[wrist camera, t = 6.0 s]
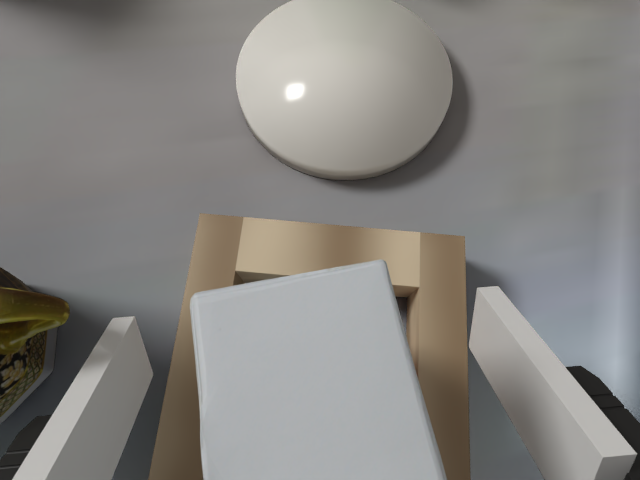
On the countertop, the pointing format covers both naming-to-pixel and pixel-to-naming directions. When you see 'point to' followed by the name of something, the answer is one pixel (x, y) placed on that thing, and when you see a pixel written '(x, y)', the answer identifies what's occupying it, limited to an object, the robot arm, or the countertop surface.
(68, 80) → the countertop surface
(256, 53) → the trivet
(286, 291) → the skincare box
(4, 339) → the ceramic cup
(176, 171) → the countertop surface
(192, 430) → the block
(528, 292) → the countertop surface
